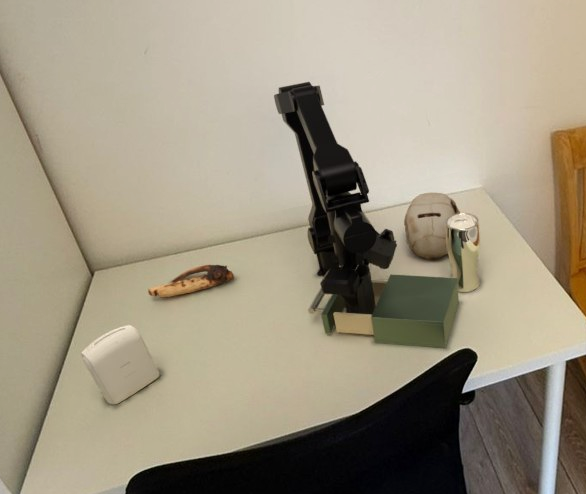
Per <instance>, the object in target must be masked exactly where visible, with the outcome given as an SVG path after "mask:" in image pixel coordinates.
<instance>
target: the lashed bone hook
mask: <svg viewBox="0 0 586 494" xmlns="http://www.w3.org/2000/svg"><path fill="white" fill-rule="evenodd" d="M204 272H205V273H204ZM199 273H204V274H202V275H200V276H194V277H191V278H187V277H189V276H192V275H194V274H195V275H196V274H199ZM234 277H235V274H234V273H233V271H232V270H229V269H228V265H221V264H204V265H199V266H196V267H194V268H191V269H188V270H186V271H184V272H182V273H180V274H178V275H177V276H176V277H174V278H173V279H172V280H171V282H170V283H164V284H160V285H156V286H152V287H149V288H148V290H147V291H148V295H149V296H151V297H157V296H158V297H160V298H169V297H174V296H179V295H184V294H189V293H193V292H197V291H200V290H205V289H209V288H212V287H215V286H219V285H222V284H223V283H226V282H227V281H231V280H233V279H234ZM185 278H186V279H185Z"/></svg>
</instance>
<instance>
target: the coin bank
mask: <svg viewBox="0 0 586 494" xmlns="http://www.w3.org/2000/svg"><path fill="white" fill-rule="evenodd" d="M459 213H461V211H460V210H459V208H458V206H457V203H456V202H455V200H454V199H453V198H452V197H450V196H448V195H447V194H445V193H442V192H425V193H420V194H418V195H417V196H416V197H415V198H413V199H412V201H411V202H410V205H409V206H408V208H407V211H406V212H405V216H404V219H403V224H404V231H405V238H406V242H407V244H408V246H409V248H410V249H411V250H412V252H413V253H414V254H416V255H417V256H418V257H422V258H425V259H427V260H430V259H440V258H442V257H444V256H445V255H448V253H447V248H446V241H445V227H446V224H445V221H446V219H447V218H448V217H450V216H452V215H454V214H459Z"/></svg>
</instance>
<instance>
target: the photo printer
mask: <svg viewBox="0 0 586 494" xmlns="http://www.w3.org/2000/svg"><path fill="white" fill-rule="evenodd" d="M80 355H81V358H82V360H83V364H84V365H85V367H86V369H87V371H88V372H89V374H90V375H91V377H92V379H93V381H94V383H95V384H96V386H97V387H98V389H99V391H100V392H101V394H102V396H103V397H104V399H105V401H106V402H107V403H108V404H109V405H117V404H119V403H121V402H123V401H125V400H126V399H128V398H130V397H131V396H133V395H135V394H136V393H137V392H139V391H141V390H142V389H144V388H145V387H146V386H148V385H150V384H151V383H153V382H154V381H156V379H158V378H159V377H160V376H161V375H160V371H159V369H158V367H157V364H156V362H155V361H154V359H153V357H152V355H151V353H150V351H149V349H148V347H147V344H146V343H145V341H144V338H143V337H142V335H141V333H140V332H139V331H138V330H137V328H136V327H134V326H132V325H131V324H128V325H127V324H126V325H122V326H120V327H116V328H113V329H111V330H110V331H107V332H106V333H104V334H102V335H100V336H99V337H97V338H96V339H94V340H93V341H92V342H90V344H88V345H87V346H86V347H85V348H84V349H83V350H82V352H81V353H80Z"/></svg>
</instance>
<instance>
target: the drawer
mask: <svg viewBox="0 0 586 494" xmlns="http://www.w3.org/2000/svg"><path fill="white" fill-rule="evenodd" d="M371 280H372V286H373V293H374V299H375V305H377V303H378V301H379V298H380V296H381V294H382V292H383V290H384V287H385V285H386V283H387V281H388V280H378V279H377V280H374V279H371ZM325 295H326V294H324V293H323V292H322V289H321V287H320V288H319V290H318V291H317V294H316V295H315V296H314V299H313V300H312V302H311V303H310V305H309V307H308V309H307V312H308V313H309V314H311V315H314V314H315V313H320V314H321V315H320V316H321V320H322V325H323V329H324V334H327V335H332V333H333V332H334V329H335V328H336V332H337V333H346V334H358V335H359V334H360V335H372V336H374V332H373V326H372V320H371V316H372V315H369V314H355V313H346V310H345V309H346V308H345V303H344V298H343V297H342V296H341V295H339V294H330V298H329V299H328V302H327V303H326V305H325V307H324V308H323V307H319V306H320V304H321V302H322V301H323V299H324V297H325ZM344 310H345V311H344ZM343 311H344V312H343Z"/></svg>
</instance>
